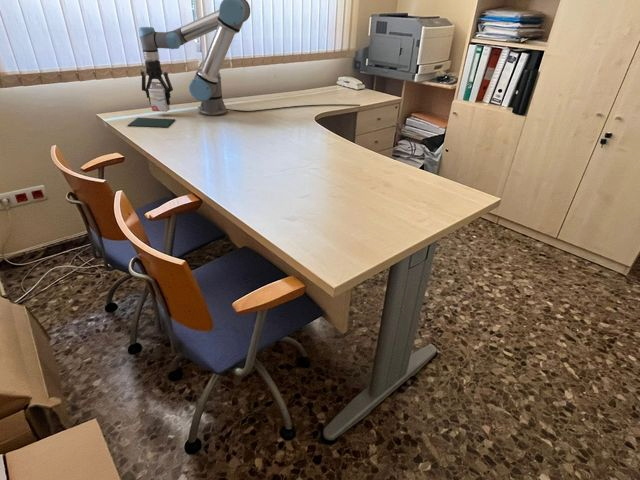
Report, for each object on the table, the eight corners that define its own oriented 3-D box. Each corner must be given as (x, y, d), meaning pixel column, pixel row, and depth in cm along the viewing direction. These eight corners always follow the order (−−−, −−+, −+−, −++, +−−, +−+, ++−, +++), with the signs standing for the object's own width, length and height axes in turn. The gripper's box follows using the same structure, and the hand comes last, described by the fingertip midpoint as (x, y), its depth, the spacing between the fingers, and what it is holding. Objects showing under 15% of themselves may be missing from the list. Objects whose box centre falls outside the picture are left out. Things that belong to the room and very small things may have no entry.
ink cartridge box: (151, 111, 220) (146, 83, 212) (155, 108, 224) (150, 81, 216) (166, 111, 219) (161, 84, 211) (170, 109, 223) (165, 82, 215)
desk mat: (175, 120, 217) (174, 119, 216) (167, 127, 205) (166, 126, 205) (138, 118, 216) (138, 117, 216) (128, 126, 204) (127, 125, 204)
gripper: (174, 59, 211) (181, 103, 223) (134, 58, 210) (143, 102, 223) (170, 61, 205) (177, 106, 217) (128, 60, 204) (138, 105, 216)
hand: (160, 104), depth 220 cm, fingers closed on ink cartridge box, 9 cm apart
